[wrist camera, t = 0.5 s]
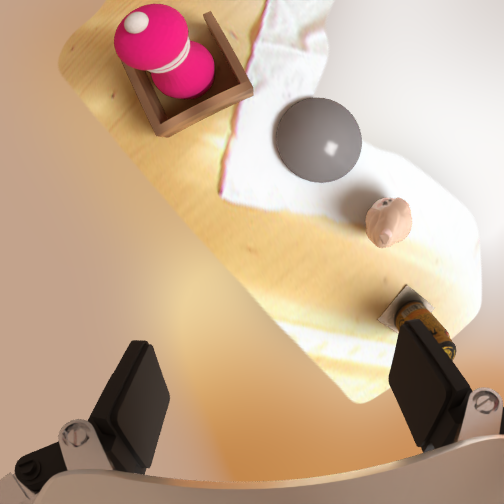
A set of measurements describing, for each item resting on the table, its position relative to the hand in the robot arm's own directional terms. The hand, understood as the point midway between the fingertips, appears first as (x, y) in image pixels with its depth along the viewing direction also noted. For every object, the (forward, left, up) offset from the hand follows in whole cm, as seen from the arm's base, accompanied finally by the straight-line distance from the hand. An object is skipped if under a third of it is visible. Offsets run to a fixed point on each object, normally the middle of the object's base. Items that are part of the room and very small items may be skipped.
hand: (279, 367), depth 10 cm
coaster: (-10, +6, -30) cm, 32 cm away
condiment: (+14, +25, -30) cm, 42 cm away
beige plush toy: (-1, +16, -30) cm, 34 cm away
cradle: (-17, -11, -30) cm, 36 cm away
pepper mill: (-17, -11, -30) cm, 36 cm away
